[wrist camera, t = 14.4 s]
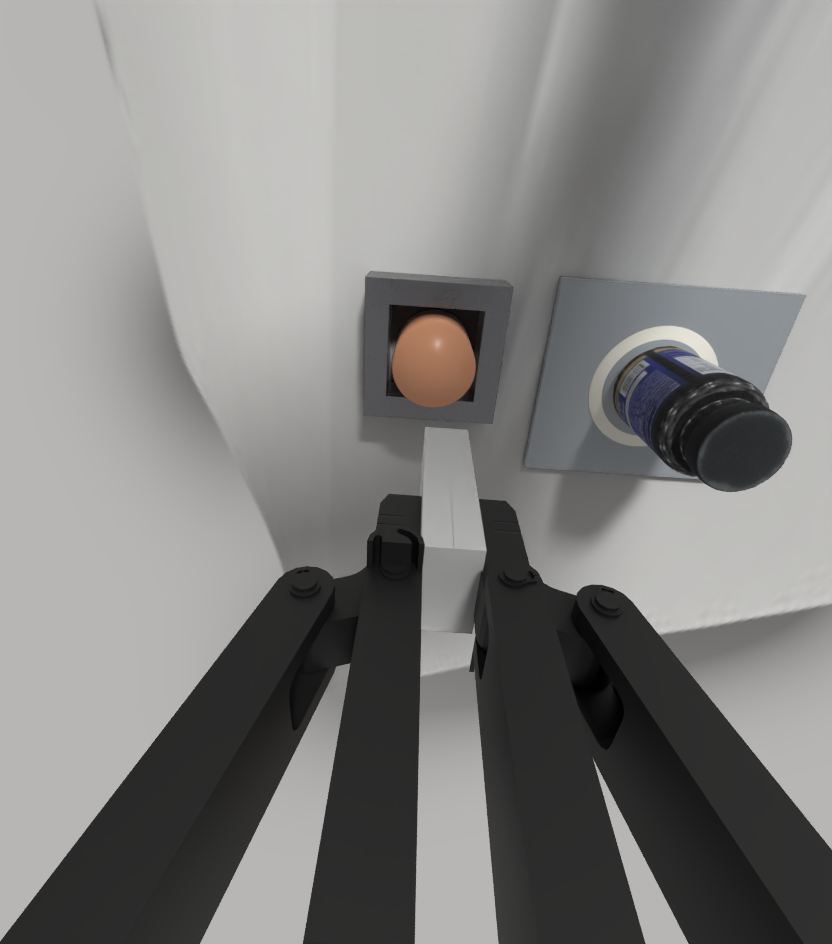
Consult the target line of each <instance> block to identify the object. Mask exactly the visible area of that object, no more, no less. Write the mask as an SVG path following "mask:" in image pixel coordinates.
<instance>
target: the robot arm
mask: <svg viewBox="0 0 832 944" xmlns="http://www.w3.org/2000/svg"><path fill="white" fill-rule="evenodd" d="M474 624H475V634H476V637H475V642H474V648H473V653H472V659H471V664H470V672H474V668H475V679H476V690H477V702H478V712H479V724H480V735H481V746H482V759H483V770H484V781H485V793H486V804H487V816H488V827H489V838H490V850H491V861H492V873H493V883H494V896H495V907H496V918H497V929H498V941H499V944H645V941H644V937H643V934H642V930H641V927H640V923H639V920H638V916H637V912H636V909H635V906H634V902H633V899H632V895H631V891H630V888H629V884H628V881H627V877H626V874H625V871H624V867H623V863H622V860H621V856H620V853H619V849H618V846H617V842H616V838H615V835H614V831H613V828H612V824H611V821H610V817H609V814H608V810H607V807H606V803H605V800H604V796H603V793H602V789H601V786H600V783H599V779H598V775H597V772H596V768H595V765H594V761H595V763H596V765H597V767H598V769H599V770H600V773H601V775H602V776H603V779H604V780H605V782H606V784H607V786H608V788H609V790H610V792H611V794H612V796H613V798H614V800H615V801H616V804H617V806H618V808H619V810H620V811H621V813H622V815H623V817H624V819H625V821H626V823H627V825H628V827H629V829H630V831H631V833H632V835H633V837H634V839H635V841H636V842H637V844H638V846H639V848H640V850H641V852H642V854H643V856H644V858H645V860H646V862H647V864H648V866H649V868H650V870H651V871H652V873H653V875H654V877H655V879H656V881H657V883H658V885H659V887H660V889H661V891H662V893H663V895H664V897H665V899H666V901H667V903H668V904H669V906H670V908H671V910H672V912H673V914H674V916H675V918H676V920H677V922H678V924H679V926H680V928H681V930H682V931H683V934H684V935H685V937H686V939H687V941H688V943H689V944H832V850H831V849H830V847H829V846H828V845H827V844H826V842H825V841H824V840H823V839H822V837H821V836H820V835H819V834H818V832H817V831H816V830H815V829H814V827H813V826H812V825H811V824H810V822H809V821H808V820H807V819H806V818H805V817H804V815H803V814H802V812H801V811H800V810H799V809H798V807H796V805H795V804H794V803H793V801H792V800H791V799H790V798H789V796H788V795H787V794H786V793H785V791H784V790H783V789H782V788H781V786H780V785H779V784H778V783H777V781H776V780H775V779H774V778H773V777H772V775H771V774H770V773H769V771H768V770H767V769H766V768H765V766H764V765H763V764H762V763H761V762H760V760H759V759H758V758H757V757H756V755H755V754H754V753H753V752H752V750H751V749H750V748H749V747H748V745H747V744H746V743H745V742H744V740H743V739H742V738H741V737H740V735H739V734H738V733H737V732H736V730H735V729H734V728H733V727H732V726H731V724H730V723H729V722H728V720H727V719H726V718H725V717H724V715H723V714H722V713H721V712H720V710H719V709H718V708H717V707H716V706H715V704H714V703H713V702H712V701H711V699H710V698H709V697H708V696H707V694H706V693H705V692H704V691H703V689H702V688H701V687H700V686H699V684H698V683H697V682H696V681H695V679H694V678H693V677H692V676H691V675H690V673H689V672H688V671H687V669H686V668H685V667H684V666H683V664H682V663H681V662H680V661H679V659H678V658H677V657H676V656H675V655H674V654H673V652H672V651H671V650H670V648H669V647H668V646H667V645H666V643H665V642H664V641H663V640H662V638H661V637H660V636H659V635H658V633H657V632H656V631H655V630H654V628H653V627H652V626H651V625H650V623H649V622H648V621H647V620H646V618H645V617H644V616H643V615H642V613H641V612H640V611H639V610H638V608H637V607H636V606H635V605H634V604H633V602H632V601H631V600H630V599H629V598H627V597H626V596H625V595H624V594H623V593H621V592H619V591H617V590H615V589H614V588H610V587H607V586H603V585H589V586H585V587H583V588H582V589H581V590H580V591H579V592H578V593H577V596H576V595H573V594H569V593H566V592H563V591H559V590H557V589H554V588H552V587H549V586H548V585H546V584H544V583H543V581H542V579H541V577H540V575H539V573H538V572H537V571H536V570H535V569H533V568H532V567H531V566H530V565H529V561H528V557H527V554H526V550H525V546H524V542H523V539H522V535H521V531H520V527H519V525H518V520H517V516H516V512H515V510H514V509H513V508H512V507H511V506H510V505H509V504H508V503H507V502H506V501H499V500H484V499H479V498H478V492H477V486H476V479H475V473H474V466H473V460H472V453H471V447H470V440H469V434H468V430H463V429H449V428H434V427H425V432H424V445H423V457H422V470H421V482H420V496H410V495H395V494H388V496H387V497H386V498H385V499H384V500H383V501H382V502H381V503H380V509H379V515H378V521H377V527H376V530H375V531H374V532H373V533H371V534H370V536H369V538H368V540H367V566H366V567H365V568H364V569H363V570H361V571H360V572H358V573H356V574H354V575H351V576H347V577H342V578H337V579H333V577H332V576H331V575H330V574H329V573H328V572H327V571H325V570H323V569H320V568H318V567H308V566H306V567H300V568H295V569H293V570H291V571H288V572H286V573H285V574H284V575H283V576H282V577H280V578H279V579H278V580H277V582H276V583H275V584H274V586H273V587H272V588H271V590H270V591H269V592H268V593H267V595H266V596H265V597H264V599H263V600H262V601H261V603H260V604H259V605H258V606H257V608H256V609H255V610H254V612H253V613H252V614H251V616H250V617H249V618H248V619H247V621H246V622H245V623H244V625H243V626H242V627H241V629H240V630H239V631H238V632H237V634H236V635H235V637H234V638H233V639H232V640H231V642H230V643H229V645H228V646H227V647H226V648H225V649H224V651H223V652H222V653H221V655H220V656H219V657H218V659H217V660H216V661H215V662H214V664H213V665H212V666H211V668H210V669H209V670H208V672H207V673H206V674H205V675H204V677H203V678H202V679H201V681H200V682H199V683H198V685H197V686H196V687H195V689H194V690H193V691H192V693H191V694H190V695H189V696H188V698H187V699H186V700H185V702H184V703H183V704H182V705H181V707H180V708H179V709H178V711H177V712H176V713H175V715H174V716H173V717H172V718H171V720H170V721H169V722H168V724H167V725H166V726H165V728H164V729H163V730H162V731H161V733H160V734H159V735H158V737H157V738H156V739H155V741H154V742H153V743H152V745H151V746H150V747H149V748H148V750H147V751H146V752H145V754H144V755H143V756H142V758H141V759H140V760H139V762H138V763H137V764H136V765H135V767H134V768H133V769H132V771H131V772H130V773H129V775H128V776H127V777H126V779H125V780H124V781H123V782H122V784H121V785H120V786H119V788H118V789H117V790H116V791H115V793H114V794H113V795H112V797H111V798H110V799H109V801H108V802H107V803H106V804H105V806H104V807H103V808H102V810H101V811H100V812H99V814H98V815H97V816H96V817H95V819H94V820H93V821H92V823H91V824H90V825H89V827H88V828H87V829H86V830H85V832H84V833H83V834H82V836H81V837H80V838H79V840H78V841H77V842H76V844H75V845H74V846H73V847H72V849H71V850H70V851H69V853H68V854H67V856H66V857H65V858H64V859H63V860H62V862H61V863H60V865H59V866H58V867H57V868H56V870H55V871H54V872H53V873H52V875H51V876H50V878H49V879H48V880H47V881H46V883H45V884H44V885H43V887H42V888H41V889H40V890H39V892H38V893H37V894H36V896H35V897H34V898H33V900H32V901H31V902H30V904H29V905H28V906H27V908H26V909H25V910H24V911H23V913H22V914H21V915H20V917H19V918H18V919H17V921H16V922H15V923H14V924H13V926H12V927H11V928H10V930H9V931H8V932H7V933H6V935H5V936H4V937H3V939H2V940H1V941H0V944H200V942H201V940H202V938H203V936H204V934H205V932H206V930H207V928H208V926H209V924H210V922H211V920H212V918H213V916H214V914H215V912H216V910H217V908H218V906H219V904H220V902H221V900H222V898H223V896H224V894H225V892H226V890H227V888H228V886H229V884H230V882H231V880H232V878H233V876H234V874H235V872H236V870H237V868H238V866H239V863H240V861H241V860H242V857H243V855H244V853H245V851H246V849H247V847H248V845H249V843H250V841H251V839H252V837H253V835H254V833H255V831H256V829H257V827H258V825H259V823H260V821H261V819H262V817H263V815H264V813H265V811H266V809H267V807H268V805H269V803H270V801H271V799H272V797H273V795H274V793H275V791H276V789H277V787H278V785H279V783H280V781H281V779H282V776H283V775H284V773H285V771H286V769H287V766H288V764H289V762H290V760H291V758H292V756H293V754H294V752H295V750H296V748H297V746H298V744H299V742H300V740H301V738H302V736H303V734H304V732H305V730H306V728H307V726H308V724H309V722H310V720H311V718H312V716H313V714H314V712H315V710H316V708H317V706H318V704H319V702H320V700H321V698H322V696H323V694H324V692H325V690H326V688H327V686H328V684H329V682H330V680H331V678H332V676H333V674H334V672H335V668H336V666H340V665H344V664H349V663H351V664H350V670H349V676H348V682H347V688H346V694H345V700H344V705H343V711H342V718H341V724H340V729H339V735H338V741H337V747H336V753H335V758H334V764H333V770H332V776H331V782H330V788H329V794H328V799H327V805H326V812H325V817H324V823H323V829H322V835H321V841H320V847H319V852H318V859H317V864H316V870H315V876H314V882H313V888H312V893H311V899H310V905H309V911H308V917H307V923H306V929H305V935H304V940H303V944H415V943H414V942H415V898H416V849H417V848H416V847H417V802H418V801H417V800H418V755H419V704H420V659H421V630H425V631H440V632H455V633H470V634H472V631H473V625H474ZM593 759H594V761H593Z"/></svg>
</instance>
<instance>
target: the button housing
mask: <svg viewBox="0 0 832 944" xmlns="http://www.w3.org/2000/svg"><path fill="white" fill-rule="evenodd" d="M512 292H513V287H512V286H511V285H510V284H509V283H508V282H507V281H501V280H487V279H474V278H460V277H446V276H432V275H418V274H404V273H390V272H376V271H370V272H369V273H368V274H367V276H366V277H365V346H364V415H370V416H384V417H399V418H414V419H428V420H443V421H458V422H472V423H487V424H492V423H493V416H494V410H495V403H496V397H497V390H498V384H499V377H500V371H501V364H502V357H503V351H504V344H505V338H506V331H507V325H508V318H509V312H510V305H511V299H512ZM392 305H406V306H420V307H434V308H448V309H462V310H476V311H480V312H479V320H478V329H477V337H476V345H475V353H474V357H475V363H476V369H475V376H474V379H473V382H472V384H471V386H470V388H469V389H468V391H467V392H466V393H465V394H464V395H463V396H462V397H461V398H460V399H458V400H457V401H455V402H453V403H451V404H449V405H446V406H442V407H425V406H421V405H418V404H416V403H414V402H412V401H410V400H409V399H408V398H406V397H405V396H404V395H403V394H402V393H401V391H400V390H399V388H398V387H397V385H396V383H394V382H389V369H390V343H391V317H392Z"/></svg>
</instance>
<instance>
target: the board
mask: <svg viewBox="0 0 832 944" xmlns="http://www.w3.org/2000/svg"><path fill="white" fill-rule="evenodd" d="M805 297H806V295H803V294H795V293H781V292H767V291H753V290H739V289H726V288H712V287H698V286H684V285H670V284H656V283H642V282H629V281H615V280H601V279H587V278H573V277H560V280H559V285H558V290H557V295H556V301H555V306H554V311H553V316H552V321H551V326H550V331H549V336H548V341H547V347H546V352H545V357H544V362H543V367H542V372H541V377H540V382H539V387H538V393H537V398H536V403H535V408H534V413H533V418H532V423H531V428H530V433H529V439H528V444H527V449H526V454H525V459H524V467H525V468H539V469H554V470H569V471H584V472H599V473H614V474H629V475H644V476H659V477H674V478H688V479H699V478H698V477H691V476H688V475H685V474H681V473H679V472H677V471H675V470H673V469H671V468H670V467H669V466H667V465H666V464H665V463H664V462H663V461H662V460H661V459H660V458H659V456H657V455H656V453H655V452H654V451H653V450H652V449H651V448H650V447H649V446H648V445H647V444H646V443H645V442H644V441H643V440H642V439H641V438H640V437H639V436H638V435H637V434H636V433H635V432H634V431H633V430H632V429H631V428H630V427H629V426H628V425H627V424H626V423H625V422H624V421H623V420H622V419H621V418H620V417H619V415H618V414H617V412H616V410H615V407H614V403H613V391H614V390H613V389H614V384H615V382H616V380H617V378H618V376H619V374H620V373H621V371H622V370H623V368H624V367H625V366H626V365H627V364H628V363H629V362H630V361H631V360H632V359H634V358H635V357H636V356H638V355H639V354H641V353H643V352H645V351H648V350H651V349H653V348H656V347H664V346H674V347H678V348H680V349H683V350H685V351H688V352H690V353H692V354H694V355H696V356H698V357H700V358H702V359H704V360H706V361H708V362H710V363H712V364H714V365H716V366H718V367H720V368H722V369H724V370H726V371H728V372H730V373H732V374H734V375H736V376H738V377H740V378H742V379H744V380H746V381H748V382H750V383H752V384H753V385H754V386H755V387H757V388H758V389H759V390H760V391H761V393H762V394H764V392H765V389H766V387H767V385H768V382H769V380H770V378H771V375H772V373H773V371H774V369H775V366H776V364H777V362H778V359H779V357H780V355H781V352H782V350H783V348H784V346H785V343H786V341H787V339H788V336H789V334H790V332H791V329H792V327H793V325H794V323H795V320H796V318H797V316H798V313H799V311H800V309H801V306H802V304H803V302H804V300H805Z"/></svg>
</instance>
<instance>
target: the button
mask: <svg viewBox="0 0 832 944" xmlns="http://www.w3.org/2000/svg"><path fill="white" fill-rule="evenodd" d="M475 369H476V363H475V357H474V353H473V350H472V347H471V344H470V340H469V337H468V334H467V332H466V329H465V328H464V326H463V324H462V323H461V322H460V321H459V320H458V319H457V318H456V317H455V316H453V315H452V314H450V313H447V312H445V311H441V310H426V311H422V312H420V313H417V314H415V315H414V316H412V317H411V318H410V319H409V320H408V321H407V322H406V323H405V324H404V325H403V327H402V329H401V331H400V333H399V336H398V340H397V344H396V349H395V353H394V357H393V363H392V371H393V377H394V380H395V383H396V385H397V387H398V388H399V390H400V391H401V393H402V394H403V395H404V396H405V397H406V398H408V399H409V400H410V401H412V402H414V403H416V404H418V405H421V406H425V407H442V406H446V405H449V404H451V403H453V402H455V401H457V400H458V399H460V398H461V397H462V396H463V395H464V394H465V393H466V392H467V391H468V389H469V388H470V386H471V384H472V382H473V379H474V376H475Z"/></svg>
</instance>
